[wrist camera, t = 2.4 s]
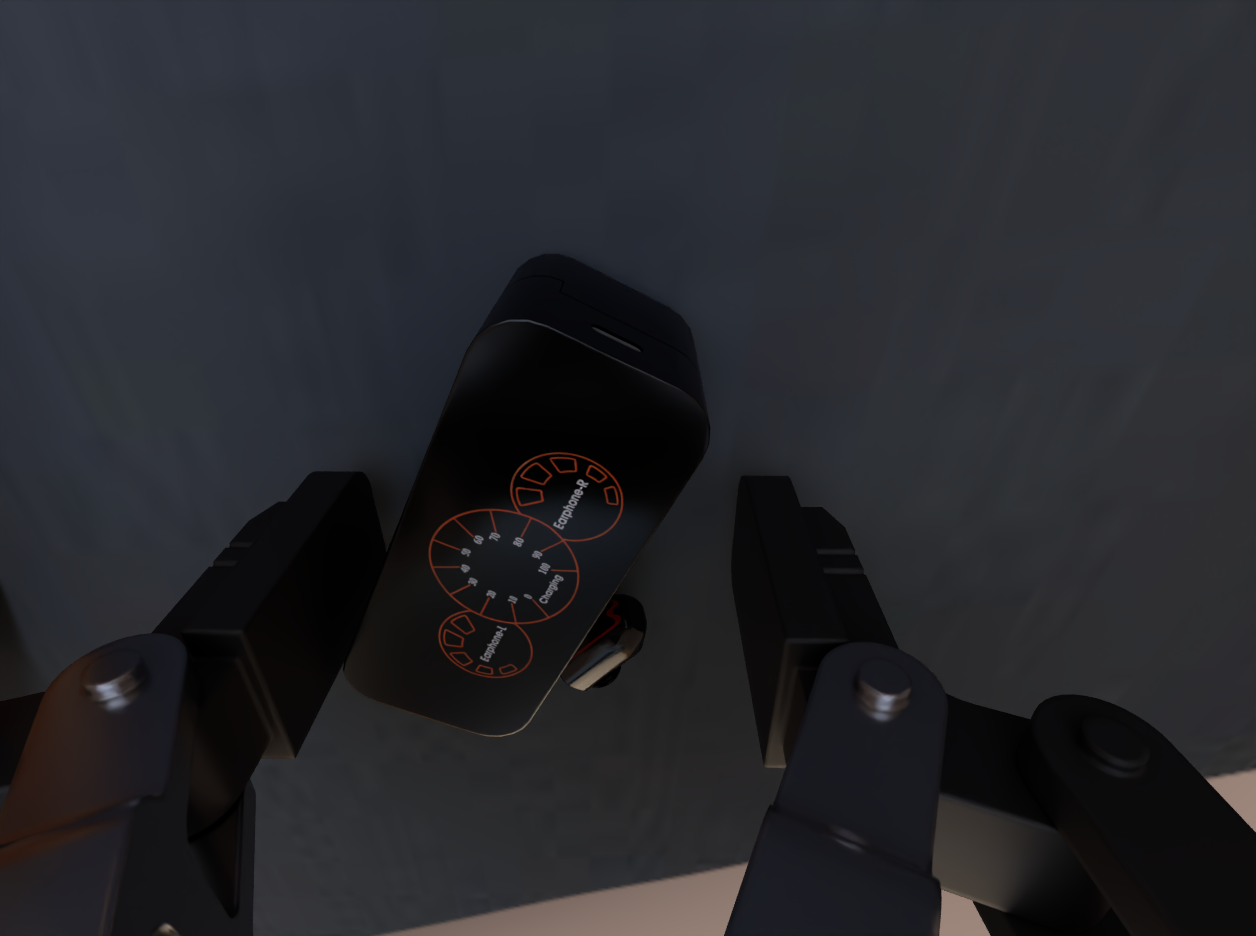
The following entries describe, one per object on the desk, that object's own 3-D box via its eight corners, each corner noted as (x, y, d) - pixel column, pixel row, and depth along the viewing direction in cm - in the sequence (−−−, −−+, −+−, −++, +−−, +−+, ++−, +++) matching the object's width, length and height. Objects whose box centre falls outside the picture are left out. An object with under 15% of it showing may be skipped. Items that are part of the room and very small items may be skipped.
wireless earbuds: (391, 576, 13) (320, 721, 10) (534, 226, 9) (487, 297, 6) (610, 656, 14) (602, 808, 11) (811, 369, 10) (875, 482, 7)
